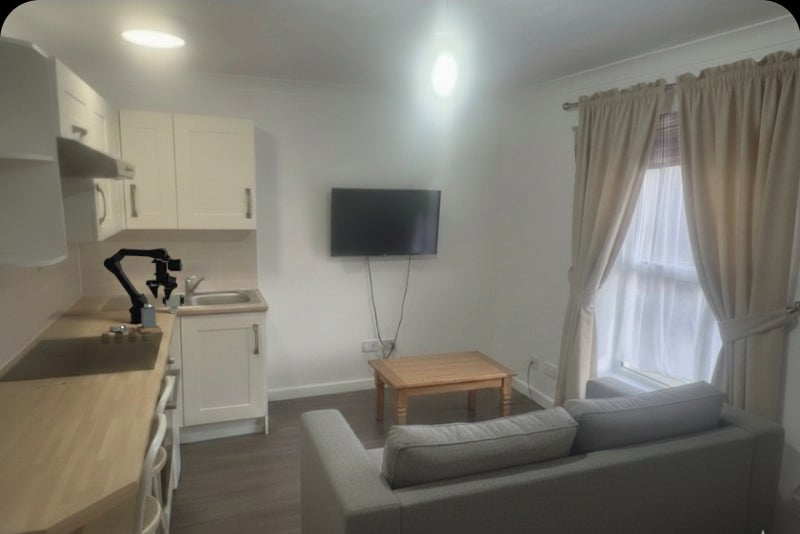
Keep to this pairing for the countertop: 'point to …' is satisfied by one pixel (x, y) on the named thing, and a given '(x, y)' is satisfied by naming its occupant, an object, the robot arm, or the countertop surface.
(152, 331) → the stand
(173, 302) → the pneumatic valve
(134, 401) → the countertop surface
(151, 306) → the housing
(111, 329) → the bolt
